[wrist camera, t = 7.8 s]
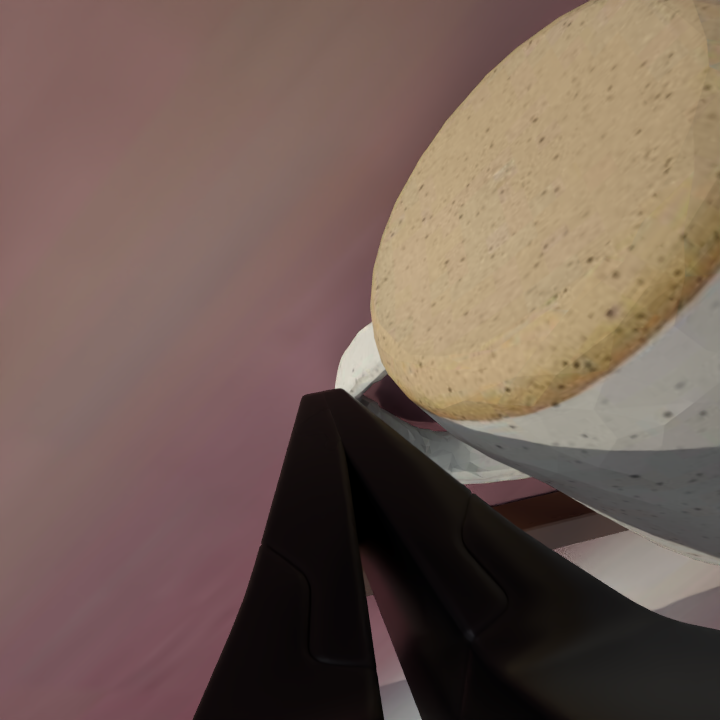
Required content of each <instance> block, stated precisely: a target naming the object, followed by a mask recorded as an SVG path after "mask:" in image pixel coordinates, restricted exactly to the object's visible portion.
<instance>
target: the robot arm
mask: <svg viewBox="0 0 720 720" xmlns="http://www.w3.org/2000/svg"><path fill="white" fill-rule="evenodd" d="M261 544H262V545H261V546H260V547H259V551H258V554H257V558H256V562H255V565H254V568H253V572H252V575H251V578H250V581H249V584H248V587H247V590H246V593H245V596H244V599H243V602H242V604H241V607H240V609H239V612H238V614H237V617H236V619H235V622H234V625H233V627H232V630H231V632H230V635H229V637H228V639H227V641H226V644H225V646H224V648H223V651H222V653H221V655H220V658H219V660H218V662H217V665H216V667H215V669H214V672H213V674H212V676H211V678H210V681H209V683H208V685H207V688H206V690H205V692H204V695H203V697H202V699H201V702H200V704H199V706H198V708H197V711H196V713H195V715H194V718H193V720H384V716H383V710H382V703H381V697H380V690H379V683H378V676H377V672H376V662H375V655H374V648H373V641H372V634H371V627H370V620H369V612H368V605H367V598H366V591H365V584H364V577H363V570H362V566H363V568H364V571H365V574H366V576H367V579H368V581H369V584H370V587H371V589H372V592H373V594H374V597H375V599H376V602H377V605H378V607H379V610H380V612H381V615H382V618H383V620H384V623H385V625H386V628H387V631H388V633H389V636H390V638H391V641H392V643H393V646H394V649H395V651H396V654H397V656H398V659H399V662H400V664H401V667H402V669H403V672H404V675H405V677H406V680H407V682H408V685H409V687H410V690H411V693H412V695H413V698H414V700H415V703H416V706H417V708H418V711H419V713H420V716H421V719H422V720H720V630H716V629H711V628H706V627H702V626H697V625H692V624H687V623H683V622H679V621H676V620H673V619H670V618H667V617H665V616H662V615H660V614H657V613H655V612H653V611H650V610H648V609H647V608H645V607H643V606H641V605H639V604H637V603H635V602H633V601H632V600H630V599H628V598H627V597H625V596H623V595H622V594H620V593H618V592H617V591H615V590H614V589H612V588H611V587H609V586H608V585H606V584H604V583H603V582H601V581H600V580H598V579H597V578H595V577H593V576H592V575H590V574H589V573H587V572H586V571H584V570H583V569H581V568H579V567H578V566H576V565H575V564H573V563H572V562H570V561H568V560H567V559H565V558H564V557H562V556H561V555H559V554H558V553H556V552H554V551H553V550H551V549H550V548H548V547H547V546H545V545H544V544H542V543H541V542H539V541H538V540H536V539H535V538H533V537H532V536H530V535H529V534H527V533H526V532H524V531H523V530H521V529H520V528H519V527H517V526H516V525H514V524H513V523H512V522H510V521H509V520H508V519H506V518H505V517H504V516H502V515H501V514H500V513H499V512H497V511H496V510H495V509H493V508H492V507H491V506H489V505H488V504H487V503H486V502H484V501H483V500H482V499H481V498H479V497H478V496H477V495H476V494H472V495H471V491H470V490H469V489H468V488H467V487H465V486H464V485H463V484H462V483H460V482H459V481H458V480H457V479H455V478H454V477H453V476H452V475H450V474H449V473H448V472H447V471H445V470H444V469H443V468H442V467H440V466H439V465H438V464H437V463H435V462H434V461H433V460H432V459H430V458H429V457H428V456H427V455H425V454H424V453H423V452H422V451H420V450H419V449H418V448H417V447H415V446H414V445H413V444H412V443H410V442H409V441H408V440H407V439H405V438H404V437H403V436H402V435H400V434H399V433H398V432H397V431H395V430H394V429H393V428H392V427H390V426H389V425H388V424H387V423H385V422H384V421H383V420H382V419H380V418H379V417H378V416H377V415H375V414H374V413H373V412H372V411H370V410H369V409H368V408H367V407H365V406H364V405H363V404H362V403H360V402H359V401H358V400H357V399H355V398H354V397H353V396H352V395H350V394H349V393H348V392H347V391H345V390H344V389H342V388H337V389H332V390H326V391H321V392H316V393H311V394H306V395H304V396H303V397H302V399H301V402H300V406H299V409H298V413H297V416H296V420H295V423H294V427H293V431H292V434H291V438H290V441H289V445H288V448H287V452H286V456H285V459H284V463H283V466H282V470H281V473H280V477H279V480H278V484H277V488H276V491H275V495H274V498H273V502H272V505H271V509H270V513H269V516H268V520H267V523H266V527H265V530H264V534H263V538H262V541H261Z"/></svg>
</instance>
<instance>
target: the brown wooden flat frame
mask: <svg viewBox="0 0 720 720" xmlns="http://www.w3.org/2000/svg"><path fill="white" fill-rule="evenodd" d="M492 508H493V509H495V510H496V511H497V512H499V513H500V514H501V515H502V516H504V517H505V518H506V519H508V520H509V521H510V522H512V523H513V524H514V525H516V526H517V527H519V528H520V529H521V530H523V531H524V532H526V533H527V534H529V535H530V536H532V537H533V538H535V539H536V540H538V541H539V542H541V543H542V544H544V545H545V546H547V547H548V548H550V549H551V550H552V549H556V548H560V547H564V546H567V545H571V544H575V543H579V542H583V541H587V540H591V539H595V538H599V537H603V536H607V535H611V534H615V533H619V532H623V531H627V530H629V529H627V528H625V527H623V526H622V525H620V524H618V523H616V522H614V521H612V520H610V519H609V518H607V517H605V516H603V515H601V514H599V513H597V512H595V511H593V510H592V509H590V508H588V507H587V506H585V505H583V504H581V503H580V502H578V501H576V500H574V499H573V498H571V497H569V496H568V495H566V494H564V493H562V492H561V491H558V492H554V493H550V494H546V495H541V496H537V497H533V498H529V499H524V500H520V501H516V502H511V503H507V504H503V505H499V506H494V507H492ZM362 570H363V577H364V584H365V591H366V596H370V595H374V594H373V592H372V589H371V587H370V584H369V581H368V579H367V576H366V574H365V571H364V568H363V566H362Z"/></svg>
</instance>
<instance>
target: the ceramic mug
mask: <svg viewBox="0 0 720 720" xmlns="http://www.w3.org/2000/svg"><path fill="white" fill-rule="evenodd" d="M370 309H371V317H372V322H371V323H370V324H368V325H367V326H366V327H364V328H363V329H362V330H360V331H359V332H358V334H357V335H356V337H355V338H354V339H353V341H352V342H351V344H350V346H349V347H348V348H347V349H346V351H345V352H344V354H343V356H342V358H341V360H340V364H339V368H338V372H337V378H336V385H335V389H337V388H342V389H344V390H345V391H347V392H348V393H349V394H350V395H352V396H353V397H354V398H355V399H357V400H358V401H359V402H360V403H362V404H363V405H364V406H365V407H367V408H368V409H369V410H370V411H372V412H373V413H374V414H375V415H377V416H378V417H379V418H380V419H382V420H383V421H384V422H385V423H387V424H388V425H389V426H390V427H392V428H393V429H394V430H395V431H397V432H398V433H399V434H400V435H402V436H403V437H404V438H405V439H407V440H408V441H409V442H410V443H412V444H413V445H414V446H415V447H417V448H418V449H419V450H420V451H422V452H423V453H424V454H425V455H427V456H428V457H429V458H430V459H432V460H433V461H434V462H435V463H437V464H438V465H439V466H440V467H442V468H443V469H444V470H445V471H447V472H448V473H449V474H450V475H452V476H453V477H454V478H455V479H457V480H458V481H459V482H460V483H462V484H478V483H492V482H498V481H504V480H517V479H524V478H529V477H533V478H536V479H538V480H540V481H542V482H544V483H546V484H548V485H550V486H552V487H554V488H555V489H557V490H559V491H561V492H562V493H564V494H566V495H568V496H569V497H571V498H573V499H574V500H576V501H578V502H580V503H581V504H583V505H585V506H587V507H588V508H590V509H592V510H593V511H595V512H597V513H599V514H601V515H603V516H605V517H607V518H609V519H610V520H612V521H614V522H616V523H618V524H620V525H622V526H623V527H625V528H627V529H629V530H631V531H633V532H635V533H636V534H638V535H640V536H642V537H644V538H646V539H648V540H650V541H651V542H653V543H655V544H657V545H659V546H661V547H664V548H666V549H669V550H672V551H674V552H677V553H679V554H682V555H684V556H687V557H690V558H692V559H695V560H699V561H702V562H706V563H710V564H713V565H718V566H720V0H590V1H588V2H587V3H585V4H583V5H581V6H579V7H577V8H575V9H574V10H572V11H570V12H568V13H566V14H564V15H562V16H561V17H559V18H557V19H556V20H554V21H553V22H552V23H550V24H549V25H548V26H546V27H545V28H543V29H542V30H541V31H539V32H538V33H536V34H535V35H534V36H532V37H531V38H530V39H528V40H527V41H525V42H524V43H523V44H521V45H520V46H518V47H517V48H516V49H515V50H514V51H513V52H511V53H510V54H509V55H508V56H507V57H506V58H505V59H504V60H503V61H501V62H500V63H499V64H498V65H497V66H496V67H495V68H494V69H493V70H491V71H490V72H489V73H488V74H487V75H486V76H485V77H484V78H483V79H482V81H481V82H480V83H479V84H478V85H477V86H476V87H475V89H474V90H473V91H472V92H471V93H470V94H469V95H468V97H467V98H466V99H465V100H464V101H463V102H462V103H461V105H460V106H459V107H458V108H457V109H456V110H455V111H454V113H453V114H452V115H451V116H450V117H449V118H448V119H447V121H446V122H445V123H444V125H443V126H442V128H441V129H440V131H439V132H438V133H437V135H436V136H435V138H434V139H433V141H432V142H431V144H430V145H429V147H428V148H427V149H426V151H425V152H424V154H423V155H422V157H421V158H420V159H419V161H418V163H417V165H416V167H415V168H414V170H413V172H412V174H411V176H410V177H409V179H408V181H407V183H406V185H405V186H404V188H403V190H402V192H401V193H400V195H399V197H398V199H397V201H396V203H395V205H394V208H393V210H392V213H391V215H390V218H389V220H388V223H387V225H386V228H385V230H384V233H383V235H382V239H381V243H380V246H379V250H378V254H377V258H376V261H375V265H374V269H373V279H372V291H371V304H370ZM387 374H388V375H389V376H390V377H391V378H392V379H393V381H394V382H395V383H396V384H397V385H398V386H399V388H400V389H401V390H402V391H403V392H404V394H405V395H406V396H407V397H408V398H409V399H410V400H411V401H413V402H414V403H415V404H416V405H417V406H418V407H420V408H421V409H422V410H423V411H424V412H425V413H427V414H428V415H429V416H430V417H431V418H433V419H434V420H435V421H436V422H437V423H438V424H440V425H441V426H442V427H443V428H444V429H446V430H447V431H446V432H439V431H432V430H430V429H420V428H418V427H415V426H412V425H410V424H408V423H406V422H404V421H402V420H401V419H399V418H397V417H396V416H394V415H393V414H391V413H389V412H388V411H386V410H384V409H382V408H380V407H379V405H378V403H377V402H375V401H373V400H371V399H370V398H368V397H366V396H364V395H362V394H363V393H364V392H365V391H366V390H367V389H368V388H369V387H370V386H371V385H372V384H373V383H375V382H377V381H380V380H381V379H382V378H384V377H385V376H386V375H387Z"/></svg>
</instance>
